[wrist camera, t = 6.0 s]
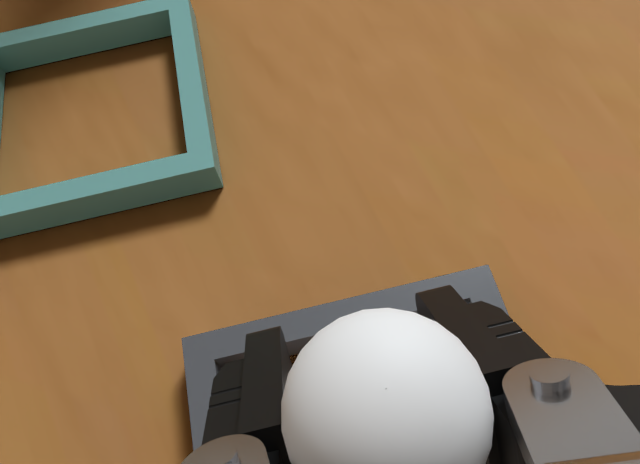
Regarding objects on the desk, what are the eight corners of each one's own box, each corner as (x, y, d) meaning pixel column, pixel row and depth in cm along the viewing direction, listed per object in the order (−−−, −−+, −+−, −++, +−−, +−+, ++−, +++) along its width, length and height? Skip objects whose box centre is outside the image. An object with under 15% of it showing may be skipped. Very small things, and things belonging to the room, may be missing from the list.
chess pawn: (527, 529, 14) (728, 502, 6) (335, 635, 13) (269, 772, 5) (419, 345, 16) (459, 147, 8) (254, 427, 15) (122, 300, 7)
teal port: (195, 16, 23) (186, -9, 22) (223, 187, 19) (214, 166, 18) (-14, 63, 23) (-32, 40, 22) (-31, 246, 19) (-55, 229, 18)
